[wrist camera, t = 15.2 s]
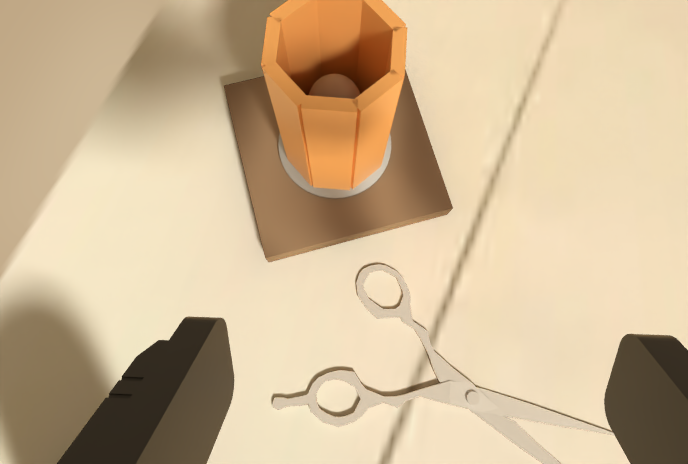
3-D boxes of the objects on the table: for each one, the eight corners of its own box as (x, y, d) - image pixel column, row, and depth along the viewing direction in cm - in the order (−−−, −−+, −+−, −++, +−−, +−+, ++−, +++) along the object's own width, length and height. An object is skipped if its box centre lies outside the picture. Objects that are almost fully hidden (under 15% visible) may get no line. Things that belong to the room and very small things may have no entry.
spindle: (394, 58, 32) (413, -37, 24) (447, 214, 30) (488, 167, 22) (229, 97, 31) (191, 13, 23) (269, 262, 29) (242, 232, 21)
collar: (385, 105, 30) (409, -10, 20) (379, 192, 28) (402, 116, 18) (293, 97, 30) (272, -21, 20) (283, 185, 28) (255, 104, 18)
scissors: (346, 246, 29) (648, 385, 27) (346, 249, 30) (640, 384, 28) (270, 406, 27) (594, 570, 25) (272, 404, 28) (587, 563, 26)
